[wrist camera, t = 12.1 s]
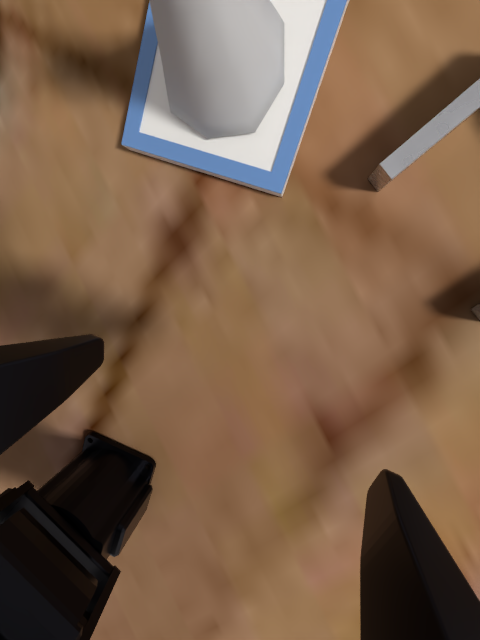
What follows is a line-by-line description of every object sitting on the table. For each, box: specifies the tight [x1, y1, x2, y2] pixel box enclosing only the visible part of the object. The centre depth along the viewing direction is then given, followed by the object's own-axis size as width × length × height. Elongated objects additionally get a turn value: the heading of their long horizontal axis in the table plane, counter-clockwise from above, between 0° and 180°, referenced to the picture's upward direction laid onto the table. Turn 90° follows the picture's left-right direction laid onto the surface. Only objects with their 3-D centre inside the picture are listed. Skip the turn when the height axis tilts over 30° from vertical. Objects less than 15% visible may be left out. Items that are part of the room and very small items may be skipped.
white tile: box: [121, 0, 349, 197], centre depth 17 cm, size 11×11×1 cm
